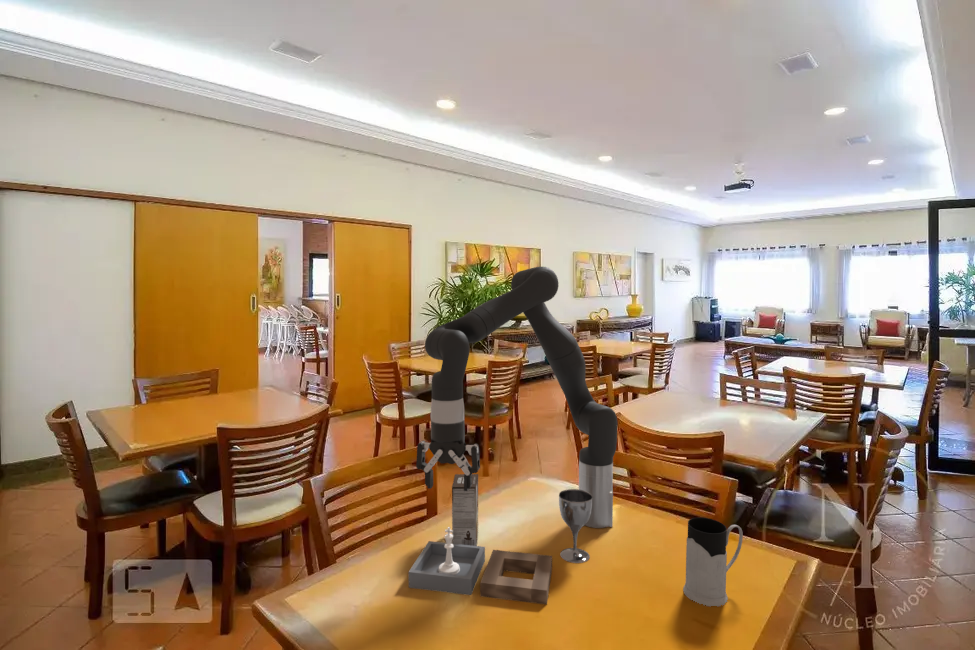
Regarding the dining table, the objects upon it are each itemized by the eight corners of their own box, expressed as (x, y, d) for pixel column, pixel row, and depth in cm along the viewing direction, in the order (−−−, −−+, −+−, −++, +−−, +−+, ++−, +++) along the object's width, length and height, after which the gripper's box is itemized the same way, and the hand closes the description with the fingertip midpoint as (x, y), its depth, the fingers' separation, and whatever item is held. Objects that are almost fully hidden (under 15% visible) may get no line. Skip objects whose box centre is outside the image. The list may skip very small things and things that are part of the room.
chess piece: (456, 577, 112) (456, 533, 111) (435, 574, 113) (435, 531, 112) (462, 565, 117) (461, 523, 116) (441, 563, 118) (441, 521, 117)
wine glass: (553, 558, 121) (554, 498, 120) (564, 544, 128) (565, 486, 127) (585, 567, 117) (586, 504, 117) (595, 551, 125) (596, 492, 124)
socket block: (552, 568, 117) (552, 555, 117) (546, 604, 103) (546, 590, 103) (493, 561, 120) (493, 549, 120) (480, 596, 106) (480, 582, 106)
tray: (484, 561, 120) (484, 546, 120) (471, 595, 107) (471, 579, 106) (429, 554, 123) (428, 541, 123) (408, 587, 109) (408, 571, 109)
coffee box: (454, 531, 135) (454, 473, 134) (478, 532, 135) (478, 473, 134) (451, 549, 126) (451, 486, 125) (477, 549, 126) (477, 486, 125)
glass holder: (674, 586, 110) (675, 519, 109) (724, 574, 115) (726, 509, 114) (704, 610, 101) (706, 538, 100) (757, 595, 106) (759, 526, 105)
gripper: (482, 415, 115) (482, 484, 116) (422, 412, 118) (423, 480, 119) (474, 423, 107) (475, 497, 109) (411, 420, 110) (412, 492, 111)
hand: (448, 488), depth 114 cm, fingers open, 8 cm apart
